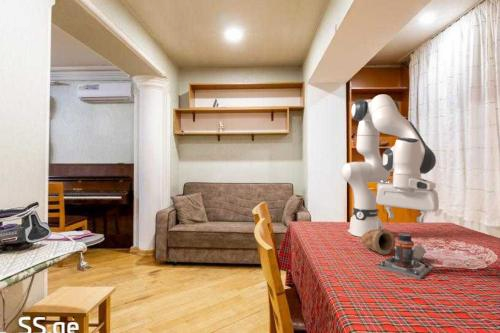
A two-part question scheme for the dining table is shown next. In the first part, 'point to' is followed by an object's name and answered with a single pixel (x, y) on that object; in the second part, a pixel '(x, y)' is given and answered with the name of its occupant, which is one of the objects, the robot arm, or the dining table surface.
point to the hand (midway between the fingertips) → (405, 220)
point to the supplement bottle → (404, 251)
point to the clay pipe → (379, 241)
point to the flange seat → (414, 271)
